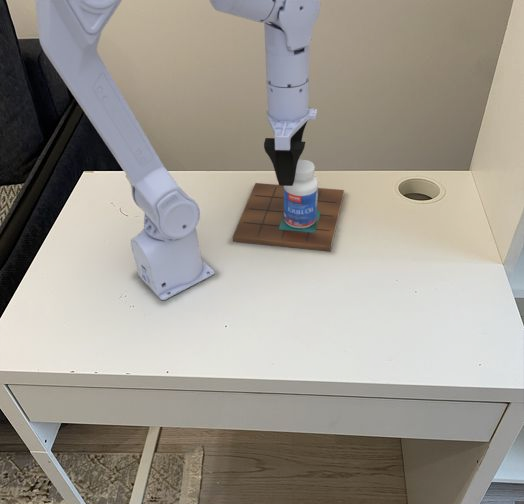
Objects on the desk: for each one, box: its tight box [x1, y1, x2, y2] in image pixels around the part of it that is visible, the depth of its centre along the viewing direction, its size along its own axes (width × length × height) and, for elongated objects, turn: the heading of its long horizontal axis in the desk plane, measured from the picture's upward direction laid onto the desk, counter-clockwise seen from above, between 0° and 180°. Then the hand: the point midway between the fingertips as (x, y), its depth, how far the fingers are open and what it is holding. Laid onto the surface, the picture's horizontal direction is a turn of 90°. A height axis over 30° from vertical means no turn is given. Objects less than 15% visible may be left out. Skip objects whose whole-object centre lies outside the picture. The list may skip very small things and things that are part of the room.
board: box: [232, 182, 345, 252], centre depth 92 cm, size 16×16×1 cm
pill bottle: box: [284, 159, 319, 228], centre depth 87 cm, size 6×5×10 cm
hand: (288, 170), depth 83 cm, fingers open, 7 cm apart
